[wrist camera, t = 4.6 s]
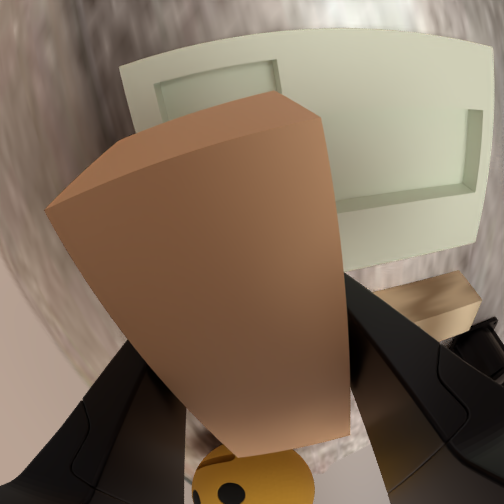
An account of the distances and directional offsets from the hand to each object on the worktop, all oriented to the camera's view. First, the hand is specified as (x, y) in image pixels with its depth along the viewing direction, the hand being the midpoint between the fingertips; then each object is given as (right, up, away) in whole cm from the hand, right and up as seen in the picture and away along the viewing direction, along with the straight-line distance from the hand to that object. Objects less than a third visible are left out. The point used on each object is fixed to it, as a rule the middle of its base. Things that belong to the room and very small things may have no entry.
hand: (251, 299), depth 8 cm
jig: (+5, +7, +8) cm, 12 cm away
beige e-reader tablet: (+13, -3, +16) cm, 20 cm away
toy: (0, -24, +29) cm, 37 cm away
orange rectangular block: (0, +1, +1) cm, 1 cm away
